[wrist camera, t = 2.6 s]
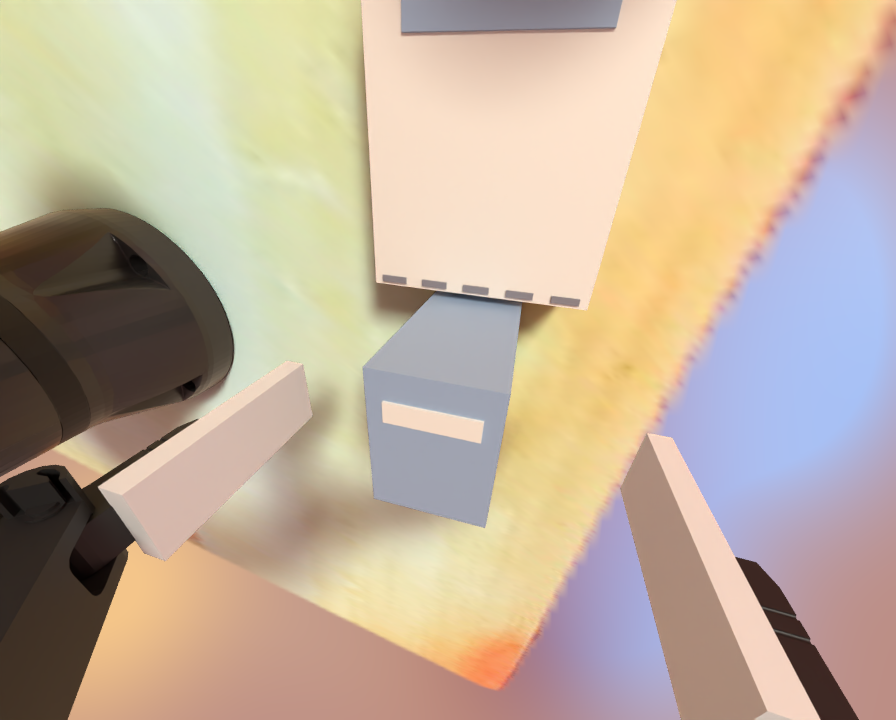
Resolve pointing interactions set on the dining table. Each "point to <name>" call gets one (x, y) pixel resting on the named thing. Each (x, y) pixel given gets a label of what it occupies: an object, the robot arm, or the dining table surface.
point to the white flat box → (503, 138)
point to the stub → (442, 405)
